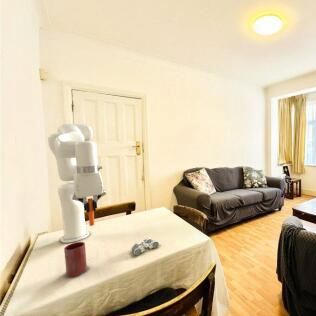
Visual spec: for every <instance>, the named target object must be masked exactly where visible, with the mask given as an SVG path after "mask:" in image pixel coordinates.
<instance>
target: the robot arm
mask: <svg viewBox="0 0 316 316" xmlns="http://www.w3.org/2000/svg"><path fill="white" fill-rule="evenodd" d="M93 135H94V132H93V129H92V127H91V126H90V125H88V124H83V123H82V124H81V123H64V124H61V125H60V126H59V127H58V128H57V132H55V133H51V134H49V135H48V136H47V143H48V146H49V149H50V151H51V152H52V154H53V156H54V157H55V160H56V167H57V172H58V176H59V180H61V181H62V182H67V183H63V184H61V185H60V186H58V189H57V194H58V197H59V201H60V206H61V216H62V227H63V236H62V237H60V242H61V243H64V244H65V243H66V244H68V243H76V242H79V241H81V240H84V239H86V238H87V237H88V236H89V235H90V231H88V230H86V220H85V212H86V213H87V214H89V204H88V198H93V211H94V212H96V210H97V209H98V202H99V200H100V199H101V198H103V197H104V196H107V192H106V191H105V189H104V182H103V177H102V174H101V171H100V170H102V169H103V166H100V165H99V160H98V146H97V143H96V142H95V141H92V139H93Z"/></svg>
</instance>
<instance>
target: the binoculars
mask: <svg viewBox="0 0 316 316" xmlns="http://www.w3.org/2000/svg"><path fill="white" fill-rule="evenodd" d="M159 245H160V242H159V241H157V240H154V239H152V238H151V237H148V238H147V239H144V240H142V241H141V242H140V243H138V242H135V243H134V244H133V245H132V246H131V248H130V249H131V251H132V252H133V254H134V255H135V256H139V255H141V253H143V252H144V251H145V248H149V249H151V250H152V249H155V248H158V247H159Z"/></svg>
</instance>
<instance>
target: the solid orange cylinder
mask: <svg viewBox="0 0 316 316" xmlns="http://www.w3.org/2000/svg"><path fill="white" fill-rule="evenodd" d="M87 202H88V204H89V212H88V223H89V225H88V226H89V227H92V226H95V211H93V197H88V198H87Z"/></svg>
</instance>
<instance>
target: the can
mask: <svg viewBox="0 0 316 316" xmlns="http://www.w3.org/2000/svg"><path fill="white" fill-rule="evenodd" d="M63 251H64V263H65V264H64V265H65V273H66V277H67V278H75V277H78V276H80V275H83V274H84V273H86V271H87V270H88V265H87V253H86V243H85V241H75V242H71V243H70V244H67V245H66V246H65V247H64V248H63Z"/></svg>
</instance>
